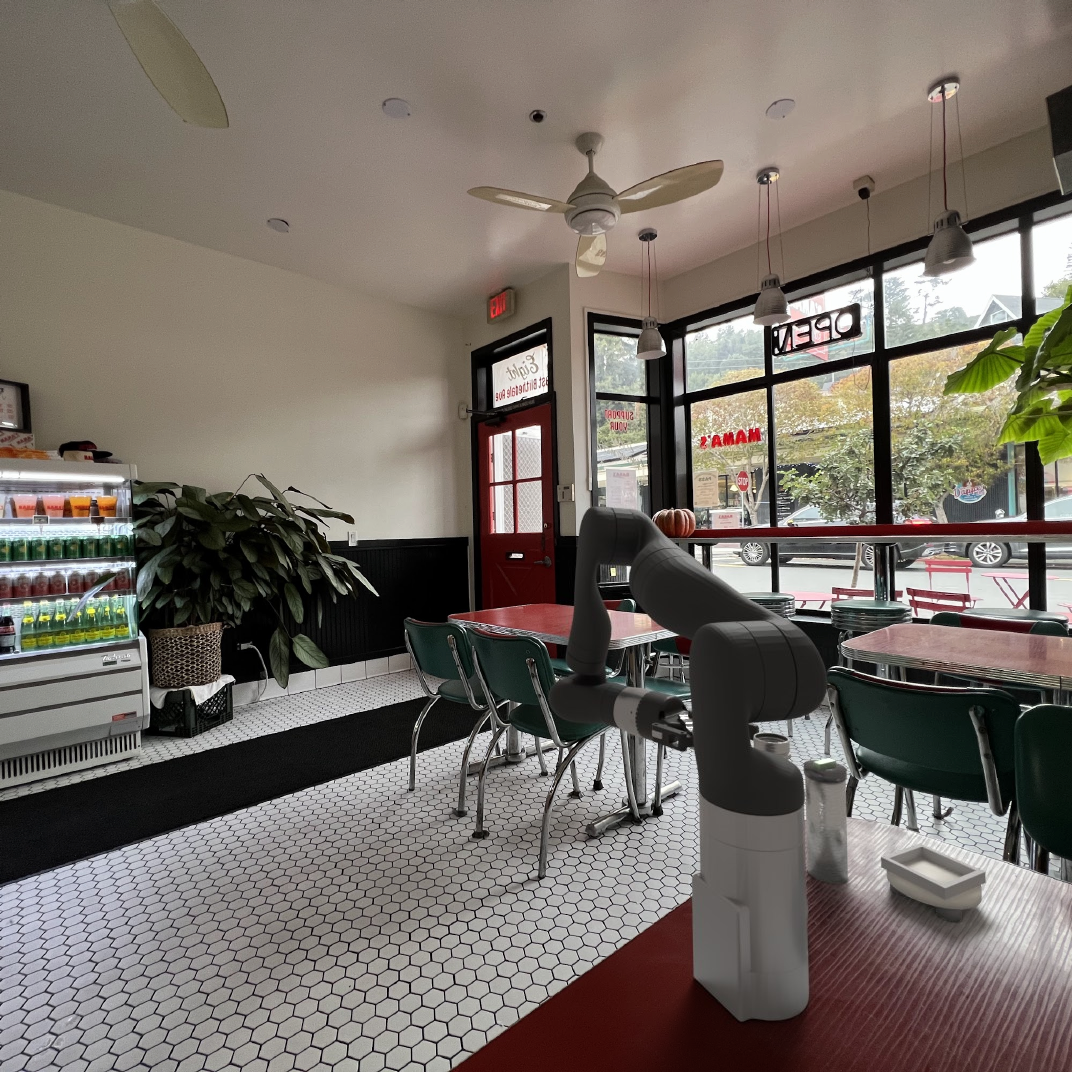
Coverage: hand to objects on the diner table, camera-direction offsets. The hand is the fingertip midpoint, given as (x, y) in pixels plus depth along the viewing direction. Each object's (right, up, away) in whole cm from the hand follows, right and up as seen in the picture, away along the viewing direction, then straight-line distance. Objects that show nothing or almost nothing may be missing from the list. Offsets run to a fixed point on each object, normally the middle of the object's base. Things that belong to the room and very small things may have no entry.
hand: (741, 740), depth 83 cm
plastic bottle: (-3, -13, -20) cm, 24 cm away
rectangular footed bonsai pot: (+17, -13, -15) cm, 26 cm away
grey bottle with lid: (+7, -13, -9) cm, 18 cm away
